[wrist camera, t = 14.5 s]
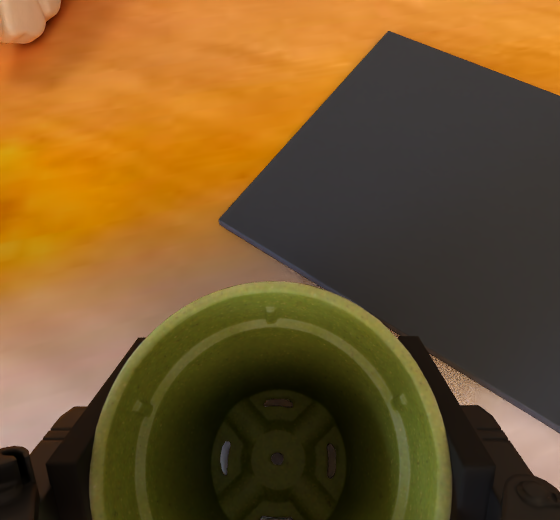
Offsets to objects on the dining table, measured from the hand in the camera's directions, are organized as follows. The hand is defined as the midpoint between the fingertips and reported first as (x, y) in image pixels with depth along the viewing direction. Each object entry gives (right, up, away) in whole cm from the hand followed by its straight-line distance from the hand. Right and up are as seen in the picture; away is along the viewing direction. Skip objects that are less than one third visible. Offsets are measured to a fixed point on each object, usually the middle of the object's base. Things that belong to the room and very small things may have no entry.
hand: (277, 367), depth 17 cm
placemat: (+10, +9, +8) cm, 16 cm away
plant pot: (0, -5, +2) cm, 5 cm away
